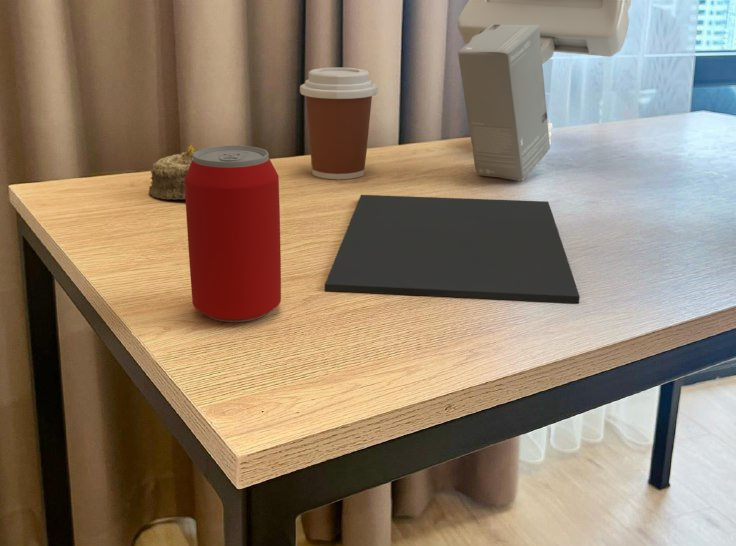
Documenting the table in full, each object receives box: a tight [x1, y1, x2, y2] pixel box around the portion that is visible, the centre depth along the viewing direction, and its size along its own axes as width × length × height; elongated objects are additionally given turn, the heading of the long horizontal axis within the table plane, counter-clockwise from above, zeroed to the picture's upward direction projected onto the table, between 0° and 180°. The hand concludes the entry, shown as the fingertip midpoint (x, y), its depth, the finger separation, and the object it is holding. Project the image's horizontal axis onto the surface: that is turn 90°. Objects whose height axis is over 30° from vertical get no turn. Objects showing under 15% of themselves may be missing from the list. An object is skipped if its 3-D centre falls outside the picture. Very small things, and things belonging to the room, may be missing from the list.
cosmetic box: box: [457, 24, 551, 182], centre depth 104 cm, size 8×7×16 cm
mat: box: [324, 194, 581, 304], centre depth 84 cm, size 20×28×1 cm
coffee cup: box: [299, 67, 379, 180], centre depth 107 cm, size 9×9×12 cm
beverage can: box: [185, 145, 282, 323], centre depth 66 cm, size 7×7×12 cm
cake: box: [148, 144, 196, 201], centre depth 100 cm, size 10×10×5 cm
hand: (519, 73), depth 106 cm, fingers closed
